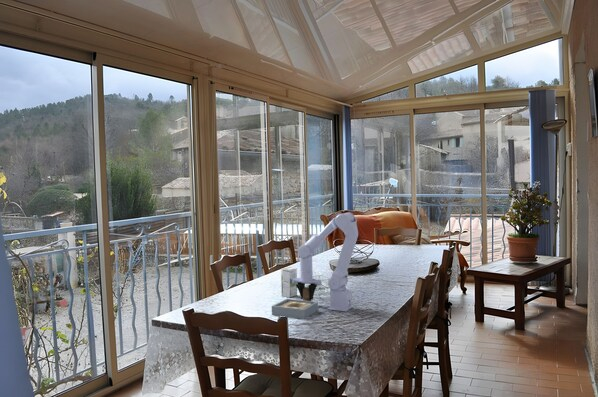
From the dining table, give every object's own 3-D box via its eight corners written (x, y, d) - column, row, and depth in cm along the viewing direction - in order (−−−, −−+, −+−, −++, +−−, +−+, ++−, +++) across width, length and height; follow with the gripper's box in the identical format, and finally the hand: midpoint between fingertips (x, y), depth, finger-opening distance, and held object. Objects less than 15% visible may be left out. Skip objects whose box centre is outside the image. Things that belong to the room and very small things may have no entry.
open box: (318, 310, 225) (317, 301, 225) (304, 319, 213) (304, 309, 213) (287, 307, 232) (286, 298, 232) (271, 314, 220) (271, 305, 220)
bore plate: (311, 309, 225) (311, 303, 225) (300, 316, 215) (300, 309, 215) (290, 307, 230) (290, 301, 230) (278, 313, 220) (278, 307, 220)
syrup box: (288, 294, 258) (288, 266, 257) (297, 295, 254) (296, 267, 253) (281, 296, 253) (280, 268, 252) (290, 298, 249) (289, 269, 249)
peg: (312, 304, 236) (312, 287, 236) (309, 306, 233) (308, 289, 232) (305, 303, 238) (304, 287, 238) (301, 305, 235) (301, 288, 234)
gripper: (323, 269, 235) (324, 298, 236) (296, 267, 242) (297, 295, 242) (317, 272, 229) (318, 301, 229) (289, 270, 235) (290, 298, 236)
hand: (307, 298), depth 235 cm, fingers closed on peg, 4 cm apart
